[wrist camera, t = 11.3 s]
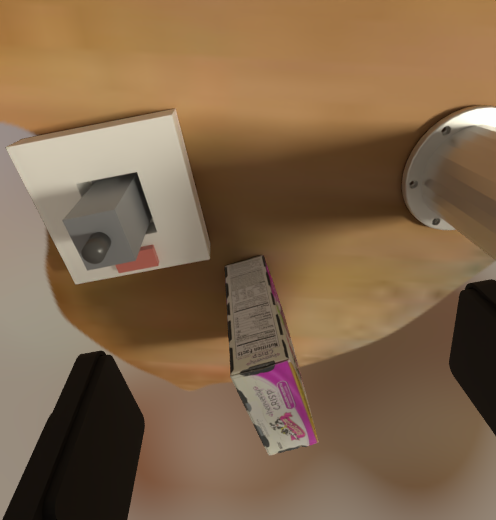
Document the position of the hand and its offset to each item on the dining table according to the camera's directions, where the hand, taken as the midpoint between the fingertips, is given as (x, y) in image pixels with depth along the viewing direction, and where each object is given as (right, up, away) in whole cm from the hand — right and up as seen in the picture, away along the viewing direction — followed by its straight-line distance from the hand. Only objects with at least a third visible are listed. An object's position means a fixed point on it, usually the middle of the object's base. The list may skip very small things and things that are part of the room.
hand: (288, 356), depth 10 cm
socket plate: (-13, +9, +26) cm, 31 cm away
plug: (-13, +9, +26) cm, 30 cm away
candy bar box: (0, -1, +34) cm, 34 cm away
